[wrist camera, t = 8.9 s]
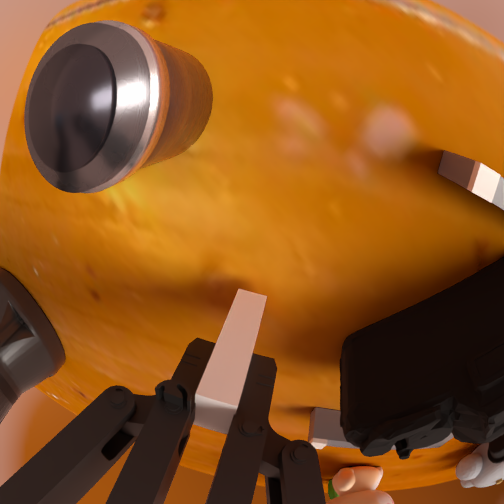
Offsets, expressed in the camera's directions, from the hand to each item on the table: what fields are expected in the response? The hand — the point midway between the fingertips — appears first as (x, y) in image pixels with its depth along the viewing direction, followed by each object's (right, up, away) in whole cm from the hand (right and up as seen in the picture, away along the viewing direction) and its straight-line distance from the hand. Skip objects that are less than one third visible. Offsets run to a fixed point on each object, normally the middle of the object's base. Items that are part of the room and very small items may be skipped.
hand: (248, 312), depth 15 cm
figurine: (+38, -25, +6) cm, 46 cm away
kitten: (+14, -26, +12) cm, 32 cm away
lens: (-5, +11, -3) cm, 12 cm away
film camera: (+14, -2, 0) cm, 14 cm away
